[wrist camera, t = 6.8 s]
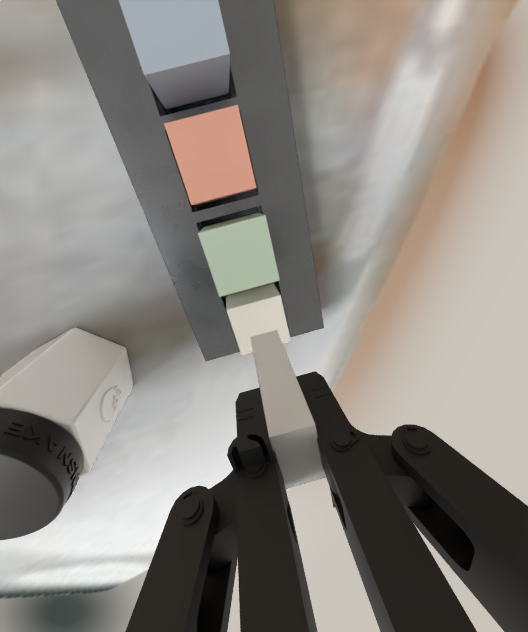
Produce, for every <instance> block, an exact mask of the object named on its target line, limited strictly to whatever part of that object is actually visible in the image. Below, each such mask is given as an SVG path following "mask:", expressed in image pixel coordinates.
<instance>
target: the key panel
mask: <svg viewBox="0 0 528 632" xmlns="http://www.w3.org/2000/svg"><path fill="white" fill-rule="evenodd" d="M56 1H57V4H58V6H59V9H60V11H61V14H62V16H63V18H64V21H65V23H66V26H67V28H68V30H69V33H70V35H71V38H72V40H73V42H74V45H75V47H76V50H77V52H78V54H79V57H80V59H81V62H82V64H83V67H84V69H85V71H86V74H87V76H88V79H89V81H90V83H91V86H92V88H93V91H94V93H95V95H96V98H97V100H98V103H99V105H100V107H101V110H102V112H103V115H104V117H105V120H106V122H107V124H108V127H109V129H110V132H111V134H112V136H113V139H114V141H115V144H116V146H117V148H118V151H119V153H120V156H121V158H122V160H123V163H124V165H125V168H126V170H127V173H128V175H129V177H130V180H131V182H132V185H133V187H134V189H135V192H136V194H137V197H138V199H139V201H140V204H141V206H142V209H143V211H144V213H145V216H146V218H147V221H148V223H149V226H150V228H151V230H152V233H153V235H154V238H155V240H156V242H157V245H158V247H159V250H160V252H161V254H162V257H163V259H164V262H165V264H166V266H167V269H168V271H169V274H170V276H171V279H172V281H173V283H174V286H175V288H176V291H177V293H178V295H179V298H180V300H181V303H182V305H183V307H184V310H185V312H186V315H187V317H188V319H189V322H190V324H191V327H192V329H193V332H194V334H195V336H196V339H197V341H198V344H199V346H200V348H201V351H202V353H203V356H204V358H205V360H206V361H208V360H212V359H216V358H219V357H223V356H226V355H230V354H233V353H237V352H240V349H239V346H238V343H237V340H236V337H235V334H234V331H233V328H232V325H231V322H230V319H229V316H228V313H227V310H226V298H225V296H221V297H219V294H218V291H217V288H216V285H215V283H214V280H213V277H212V274H211V271H210V268H209V265H208V262H207V259H206V256H205V253H204V250H203V247H202V244H201V241H200V238H199V235H198V232H199V231H200V230H201V229H202V225H201V222H202V221H205V220H209V219H213V218H217V217H220V216H224V215H228V214H232V213H235V212H239V211H243V210H247V209H250V208H254V207H257V208H258V213H260V214H263V215H266V220H267V224H268V229H269V233H270V238H271V243H272V247H273V252H274V256H275V261H276V265H277V270H278V274H279V279H280V280H279V281H276V282H275V286H276V288H277V290H278V292H279V293H280V295H281V299H282V304H283V308H284V312H285V317H286V321H287V326H288V330H289V335H290V337H293V336H297V335H300V334H304V333H307V332H311V331H314V330H318V329H321V328H324V325H323V319H322V312H321V306H320V299H319V293H318V286H317V280H316V273H315V267H314V260H313V254H312V248H311V241H310V235H309V228H308V222H307V215H306V209H305V202H304V196H303V189H302V183H301V176H300V170H299V163H298V157H297V150H296V144H295V137H294V131H293V124H292V118H291V111H290V105H289V98H288V92H287V85H286V79H285V72H284V66H283V59H282V53H281V47H280V40H279V34H278V27H277V21H276V14H275V8H274V1H273V0H218V2H219V6H220V11H221V15H222V20H223V24H224V29H225V33H226V38H227V43H228V47H229V52H230V70H229V87H230V92H231V96H232V98H231V99H227V100H223V101H219V102H215V103H211V104H207V105H203V106H199V107H196V108H192V109H188V110H184V111H180V112H176V113H172V114H168V115H165V113H164V110H163V107H162V104H161V101H160V100H159V98H158V96H157V95H156V93H155V92H154V90H153V88H152V87H151V85H150V84H149V82H148V81H147V79H146V77H145V76H144V73H143V70H142V68H141V65H140V62H139V59H138V56H137V53H136V50H135V47H134V44H133V41H132V38H131V35H130V32H129V29H128V26H127V23H126V20H125V18H124V15H123V12H122V9H121V6H120V3H119V0H56ZM235 105H238V108H239V112H240V117H241V121H242V126H243V130H244V134H245V139H246V143H247V148H248V152H249V157H250V161H251V166H252V170H253V174H254V179H255V183H256V188H255V189H253V191H254V195H255V196H253V197H249V198H246V199H242V200H238V201H234V202H231V203H227V204H223V205H219V206H215V207H212V208H208V209H204V210H200V211H197V210H196V207H195V205H191V203H190V200H189V197H188V194H187V191H186V188H185V185H184V182H183V179H182V176H181V173H180V170H179V167H178V164H177V161H176V158H175V155H174V152H173V149H172V146H171V143H170V140H169V137H168V134H167V131H166V128H165V125H164V123H168V122H172V121H176V120H180V119H184V118H188V117H192V116H196V115H200V114H204V113H207V112H211V111H215V110H219V109H223V108H227V107H231V106H235Z"/></svg>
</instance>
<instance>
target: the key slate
mask: <svg viewBox="0 0 528 632" xmlns="http://www.w3.org/2000/svg"><path fill="white" fill-rule="evenodd" d="M119 3H120V6H121V9H122V12H123V15H124V18H125V20H126V23H127V26H128V29H129V32H130V35H131V38H132V41H133V44H134V47H135V50H136V53H137V56H138V59H139V62H140V65H141V68H142V70H143V73H144V76H145V77H146V79H147V81H148V82H149V84H150V85H151V87H152V88H153V90H154V92H155V93H156V95H157V96H158V98H159V100H160V101H161V103H162V104H163V106H164V107H165V109H170V108H174V107H178V106H181V105H185V104H189V103H193V102H197V101H201V100H205V99H209V98H213V97H217V96H221V95H225V94H229V70H230V52H229V47H228V43H227V38H226V33H225V29H224V24H223V20H222V15H221V11H220V6H219V2H218V0H119Z"/></svg>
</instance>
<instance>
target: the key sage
mask: <svg viewBox="0 0 528 632" xmlns="http://www.w3.org/2000/svg"><path fill="white" fill-rule="evenodd" d="M198 235H199V238H200V241H201V244H202V247H203V250H204V253H205V256H206V259H207V262H208V265H209V268H210V271H211V274H212V277H213V280H214V283H215V285H216V288H217V291H218V294H219V297H221V296H225V295H229V294H232V293H236V292H240V291H243V290H247V289H250V288H254V287H258V286H261V285H265V284H268V283H272V282H276V281H279V280H280V279H279V274H278V270H277V265H276V261H275V256H274V252H273V247H272V243H271V238H270V233H269V229H268V224H267V220H266V215H263V214H260V213H254V214H250V215H246V216H243V217H239V218H235V219H232V220H228V221H224V222H220V223H217V224H213V225H209V226H205V227H203V228H202V229H201V230H200V231H199V232H198Z"/></svg>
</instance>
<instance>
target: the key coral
mask: <svg viewBox="0 0 528 632" xmlns="http://www.w3.org/2000/svg"><path fill="white" fill-rule="evenodd" d="M164 125H165V128H166V131H167V134H168V137H169V140H170V143H171V146H172V149H173V152H174V155H175V158H176V161H177V164H178V167H179V170H180V173H181V176H182V179H183V182H184V185H185V188H186V191H187V194H188V197H189V200H190V203H191V205H200V204H204V203H208V202H211V201H215V200H219V199H223V198H226V197H230V196H234V195H238V194H242V193H245V192H249V191H251V190H253V189H255V188H256V183H255V179H254V174H253V170H252V166H251V161H250V157H249V152H248V148H247V143H246V139H245V134H244V130H243V126H242V121H241V117H240V112H239V108H238V105H235V106H231V107H227V108H223V109H219V110H215V111H211V112H207V113H204V114H200V115H196V116H192V117H188V118H184V119H180V120H176V121H172V122H168V123H164Z"/></svg>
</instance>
